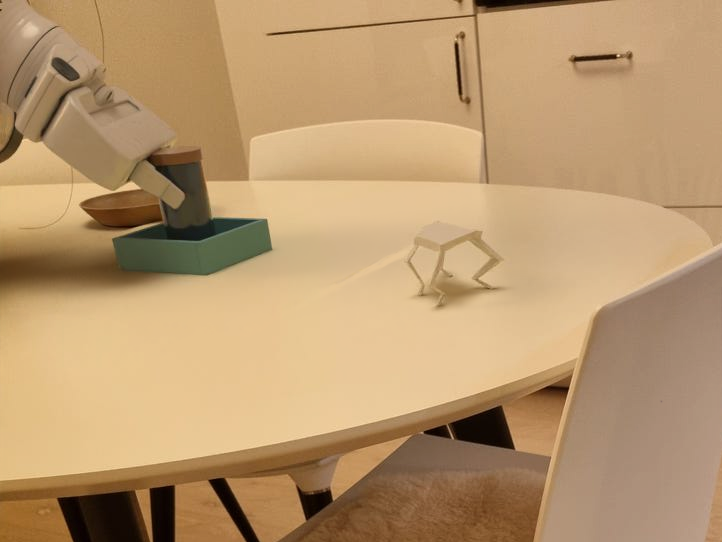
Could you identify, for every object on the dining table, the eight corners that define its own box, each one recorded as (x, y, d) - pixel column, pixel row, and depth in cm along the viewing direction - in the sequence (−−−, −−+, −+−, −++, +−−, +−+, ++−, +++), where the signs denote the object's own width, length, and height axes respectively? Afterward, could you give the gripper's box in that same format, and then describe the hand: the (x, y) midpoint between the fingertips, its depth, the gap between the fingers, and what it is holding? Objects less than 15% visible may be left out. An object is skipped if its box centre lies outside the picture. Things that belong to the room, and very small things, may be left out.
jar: (159, 263, 98) (133, 154, 92) (192, 251, 102) (170, 145, 96) (200, 266, 96) (177, 154, 90) (233, 254, 100) (212, 146, 94)
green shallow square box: (120, 274, 97) (111, 238, 95) (190, 249, 105) (183, 216, 103) (207, 280, 93) (199, 242, 91) (273, 253, 101) (267, 218, 99)
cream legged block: (517, 295, 82) (515, 235, 79) (426, 310, 80) (420, 248, 77) (471, 267, 91) (468, 212, 88) (388, 279, 89) (382, 223, 86)
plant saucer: (83, 235, 116) (77, 212, 114) (85, 215, 127) (79, 194, 126) (205, 221, 119) (200, 198, 117) (196, 203, 131) (192, 182, 129)
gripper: (81, 109, 100) (194, 203, 105) (8, 132, 83) (147, 243, 88) (112, 57, 97) (226, 156, 103) (43, 69, 80) (184, 188, 86)
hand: (189, 196), depth 95 cm, fingers closed on jar, 5 cm apart
